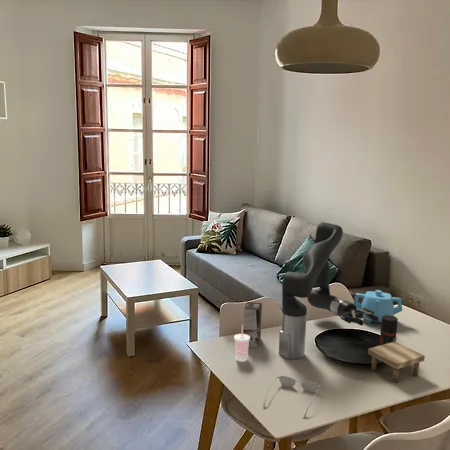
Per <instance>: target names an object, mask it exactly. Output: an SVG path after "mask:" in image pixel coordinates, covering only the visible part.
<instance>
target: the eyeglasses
mask: <svg viewBox="0 0 450 450" xmlns="http://www.w3.org/2000/svg"><path fill="white" fill-rule="evenodd" d="M276 380H279V383H280V385H281V386H284V387H288V388H294V386H296V382H297V383H300V385H301V387H300V388H302V389H303V391H307V392H312V393H315V395H314V397H313V398H312V399H311V400H310V401H309V404H308V405H307V407H306V410H305V412H304V414H303V416H302V419H303V420H305V419H306V417H307V413H308V410H309V408H310V405H311V404H312V402H313V401H314V400H315V397H316V395H317V394H318V392H319V390H320V388H321V386H322V385H321V384H318V383H317V382H315V381H310V380H302V381H300V380H296V379H295V378H293V377H290V376H287V375H280V376H278V375H277V376H276V377H275V379H274V381H276ZM273 384H274V382H272V383H271V384H270V385H269V387H268V388H267V391H266V393H265V398H264V401H263V405H262V409H263V410H265V408H266V402H267V401H266V400H267V399H266V398H267V395H268V392H269V390H270V388H271V387H272V385H273Z"/></svg>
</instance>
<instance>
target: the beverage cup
mask: <svg viewBox="0 0 450 450" xmlns="http://www.w3.org/2000/svg"><path fill="white" fill-rule="evenodd" d="M243 328H244V323H242V324H241V333H238V334H237V333H236V334H235V335H234V337H233V340H234V351H235V360H236V361H237V362H242V363H243V362H246V361H248V356H249V340H250V336H249V335H246V334H243Z"/></svg>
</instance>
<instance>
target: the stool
mask: <svg viewBox="0 0 450 450" xmlns="http://www.w3.org/2000/svg"><path fill="white" fill-rule="evenodd" d="M367 355H369V356H371V366H370V367H371V369H370V370H371V371H374V372H376V371H377V366H378V365H377V363H378V360H379V361H380V362H383V363H385V364H386V365H388V366H390V367H391V368H393V373H392V383H395V384H397V383H399V375H400V369H402V368H406V367H408V366H411V365H413V370H412V376H414V377H418V376H419V369H420V368H419V367H420V363H421V362H425V355H424V354H423V353H420V352H417V351H416V350H414V349H411V348H409V347H407V346H405V345H403V344H402V343H399V342H397V341H396V342H391V343H388V344H384V345H380V344H379V345H377V346H374V347H369V348H368V349H367Z"/></svg>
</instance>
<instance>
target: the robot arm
mask: <svg viewBox="0 0 450 450" xmlns="http://www.w3.org/2000/svg"><path fill="white" fill-rule="evenodd" d="M343 231H344V230H343V228H342V226H340V225H338V224H334V223H329V222H325V221H321V222H319V223H318V224H317V227H316V231H315V243H314V244H311V246H309V247H308V248H307V250H306V251H305V253H304V255H303V257H302V263H303V268H304V269H305V271H306V273H303V272H296V271H295V272H294V271H286V272H285V273H284V276H283V278H282V284H281V285H282V286H281V287H282V288H281V293H282V294H281V295H282V296H281V297H282V299H281V300H282V301H281V302H282V303H281V306H282V318H281V319H282V320H281V321H282V322H281V330H280V331H279V336H278V338H279V339H278V340H279V341H278V345H279V346H278V354H279V355H281V356H282V357H284V358H285V359H287V360H298V359H299V360H300V359H302V358H304V356H305V350H306V349H305V348H306V347H305V346H306V332H307V331H306V328H307V327H306V326H307V310H308V309H307V306H306V305H305V304H304V303H302V302H301V301H299V300H298V299H297V298H299V299H300V298H302V299H305V298H306V299H307V302H308V303H309V305H311V307H315V308H318V309H322V310H327V311H328V312H331V313H333V314H334V315H336V316H338V317H339V318H340V319H341V320H342V321H344V322H346V323H347V324H352V323H353V324H357V325H359V326H363V325H364V320H365V319H366V318H368V319H371V320H373V321H372V322H375V323H376V322H377V321H378V316H376V315H374V311H371V310H369V309H366V308H363V310H360V309H357V308H356V306H355V305H354V304H353V303H354V302H353V303H352V302H350V301H347V300H346V299H343V298H340V297H337V296H335V295H332V294H331V292H330V284H329V281H330V275H331V266H330V264H329V260H328V259H330V256H331V254H333V253H332V252H333V251H334V250H335V249H336V248H337V247H338V245H339V244H340V242H341V240H342V238H343ZM314 286H315V287H317V288H319V289H315V290H314V289H313V288H314ZM363 314H364V317H363ZM368 316H369V317H368Z"/></svg>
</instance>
